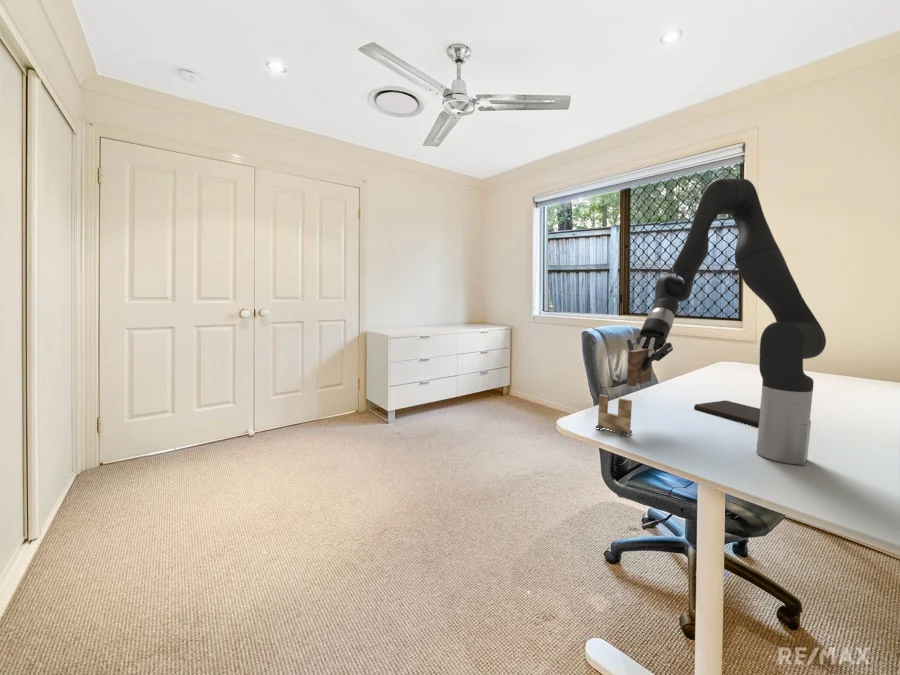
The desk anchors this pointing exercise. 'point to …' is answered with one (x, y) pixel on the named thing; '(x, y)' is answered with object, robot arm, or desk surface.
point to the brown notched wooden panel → (637, 367)
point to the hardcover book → (731, 411)
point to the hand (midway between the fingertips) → (639, 368)
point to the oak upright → (615, 416)
